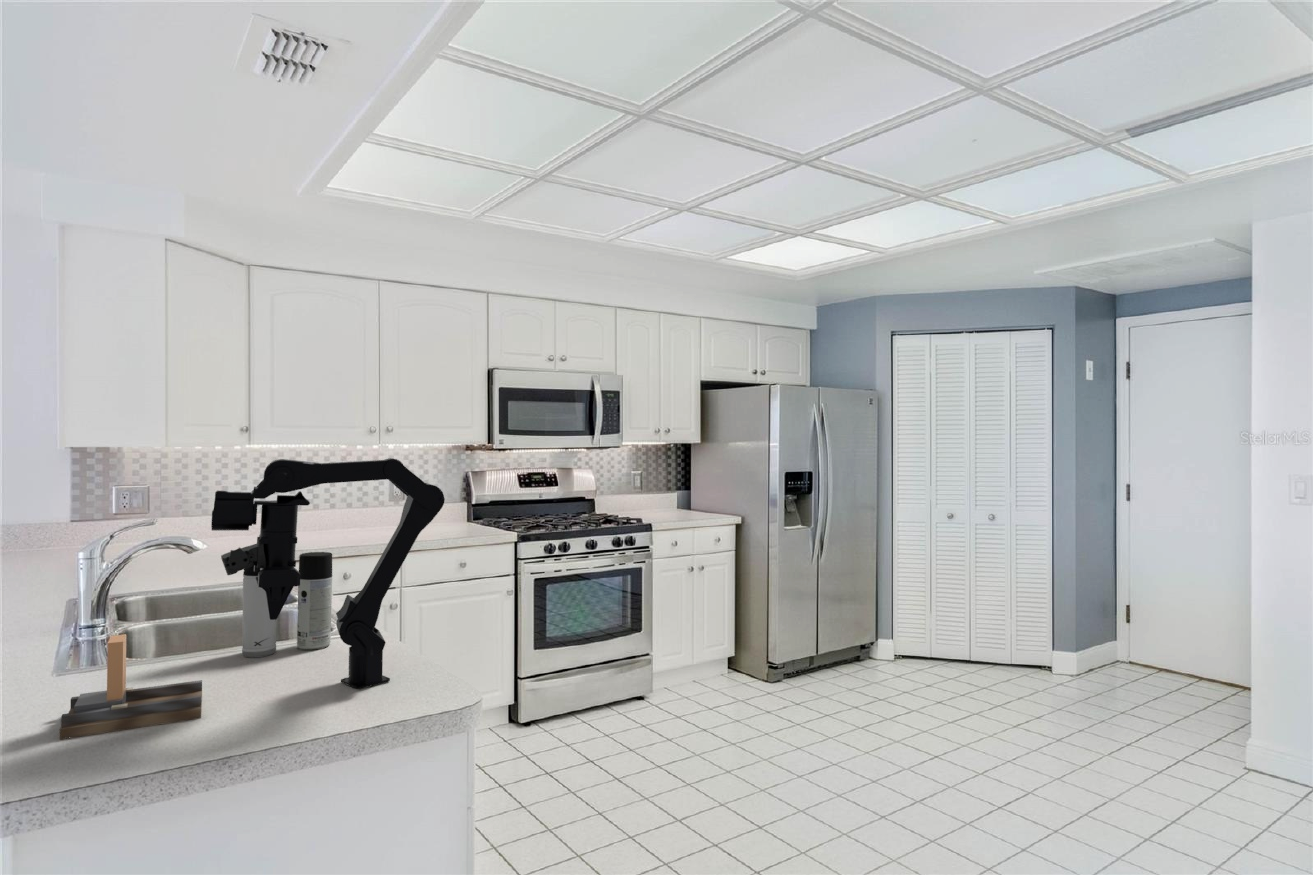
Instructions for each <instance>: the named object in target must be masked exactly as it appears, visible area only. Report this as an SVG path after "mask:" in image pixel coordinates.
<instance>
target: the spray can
mask: <svg viewBox="0 0 1313 875" xmlns="http://www.w3.org/2000/svg"><path fill="white" fill-rule="evenodd" d="M298 558H299V559H298V571H299V573H300V575H301V576H300V586H297V587H298V588H297V590H298V591H297V622H296V623H297V626H296V630H297V631H296V632H297V633H296V646H297V649H298V650H301V651H317V650H322V649H326V648H328V647H329V646H330V645H331V640H332V639H331V638H332V635H331V634H332V603H333V602H332V599H333V596H332V595H333V553H332V552H329V551H328V552H327V551H314V552H313V551H309V552H304V553H300V554H299V557H298ZM327 646H328V647H327ZM325 647H326V648H325Z"/></svg>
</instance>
